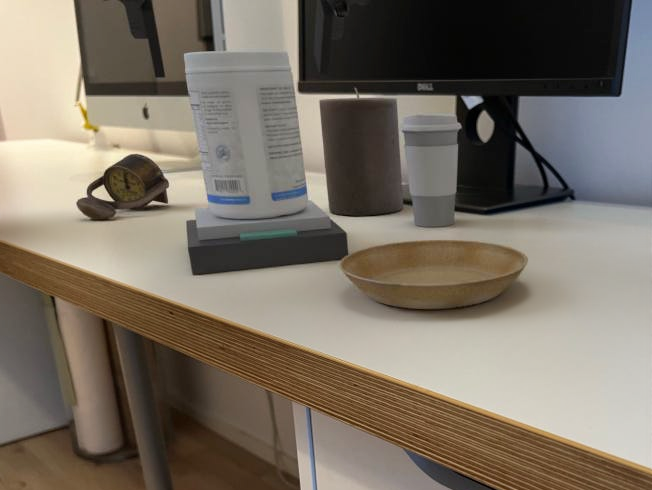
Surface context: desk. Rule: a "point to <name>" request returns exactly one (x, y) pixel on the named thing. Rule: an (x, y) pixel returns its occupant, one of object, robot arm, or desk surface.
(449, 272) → the plant saucer
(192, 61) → the supplement tub
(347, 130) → the pillar candle
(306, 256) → the scale
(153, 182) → the antique desk clock
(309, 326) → the desk surface
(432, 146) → the cup
